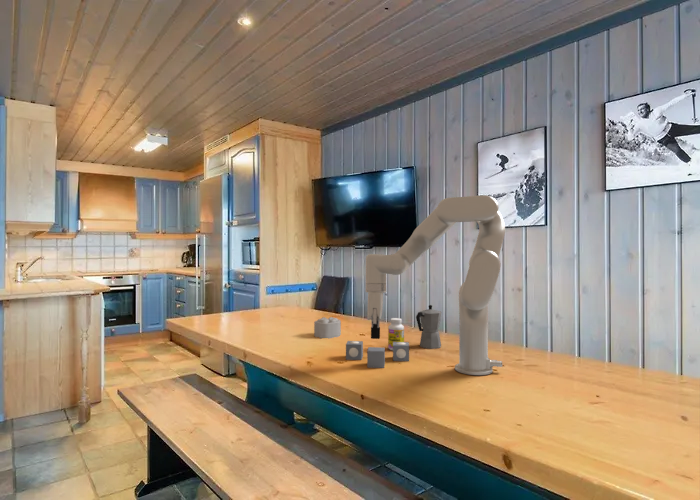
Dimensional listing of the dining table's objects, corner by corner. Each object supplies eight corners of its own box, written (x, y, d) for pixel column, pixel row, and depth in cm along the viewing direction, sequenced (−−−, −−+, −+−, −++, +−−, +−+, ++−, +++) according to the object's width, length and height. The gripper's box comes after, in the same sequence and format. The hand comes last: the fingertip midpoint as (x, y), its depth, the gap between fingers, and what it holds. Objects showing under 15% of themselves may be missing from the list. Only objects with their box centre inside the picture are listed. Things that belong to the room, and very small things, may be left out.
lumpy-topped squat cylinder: (311, 335, 209) (311, 318, 209) (332, 332, 218) (332, 315, 218) (324, 339, 201) (324, 320, 201) (345, 335, 210) (345, 318, 210)
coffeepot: (431, 342, 194) (431, 302, 194) (448, 346, 186) (448, 304, 186) (408, 347, 184) (408, 305, 184) (425, 351, 177) (425, 308, 177)
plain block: (384, 363, 158) (384, 347, 158) (384, 368, 153) (384, 351, 153) (368, 363, 159) (368, 347, 159) (367, 367, 153) (367, 351, 153)
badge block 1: (362, 356, 169) (362, 340, 169) (361, 360, 163) (361, 344, 163) (347, 355, 170) (347, 340, 170) (345, 360, 164) (345, 344, 164)
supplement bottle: (385, 350, 180) (385, 319, 179) (391, 346, 185) (391, 317, 185) (400, 351, 176) (400, 320, 176) (406, 348, 182) (406, 318, 182)
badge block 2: (408, 357, 167) (408, 341, 167) (409, 361, 161) (409, 345, 161) (393, 357, 168) (393, 341, 168) (393, 361, 162) (393, 345, 162)
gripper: (367, 286, 164) (366, 334, 164) (363, 289, 149) (363, 342, 149) (386, 286, 163) (386, 334, 163) (385, 290, 148) (385, 343, 148)
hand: (375, 338), depth 156 cm, fingers closed
